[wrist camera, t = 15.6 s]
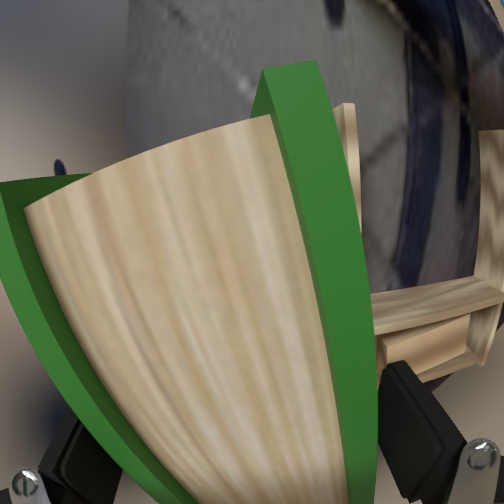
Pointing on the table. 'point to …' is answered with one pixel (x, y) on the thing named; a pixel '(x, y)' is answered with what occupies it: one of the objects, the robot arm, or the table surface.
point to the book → (498, 10)
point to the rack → (454, 291)
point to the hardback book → (210, 306)
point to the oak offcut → (424, 344)
